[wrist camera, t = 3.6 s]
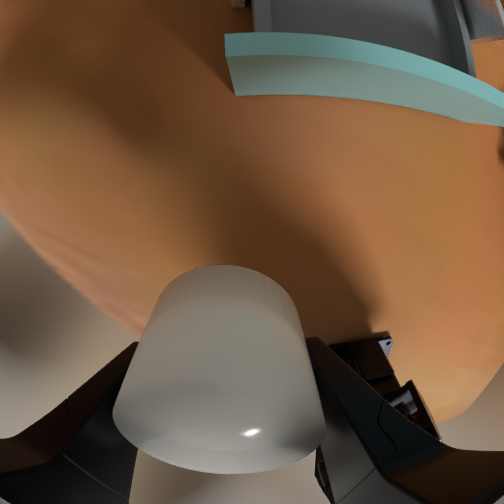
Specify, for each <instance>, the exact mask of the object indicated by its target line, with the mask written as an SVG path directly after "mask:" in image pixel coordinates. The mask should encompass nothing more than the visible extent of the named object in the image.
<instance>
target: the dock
mask: <svg viewBox="0 0 504 504" xmlns="http://www.w3.org/2000/svg"><path fill="white" fill-rule="evenodd" d="M459 1H460V4H461V7H462V11H463V14H464V18H465V21H466V25H467V29H468V33H469V37H470V42H471V45H475V44H480V43H485V42H491V41H497V40H504V10H503V7H502V4H501V2H500V0H459ZM231 6H232V8H241V7H245V0H231Z"/></svg>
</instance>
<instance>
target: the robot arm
mask: <svg viewBox="0 0 504 504" xmlns="http://www.w3.org/2000/svg"><path fill="white" fill-rule="evenodd" d="M305 342H306V346H307V350H308V354H309V358H310V362H311V365H312V369H313V373H314V377H315V381H316V386H317V390H318V394H319V398H320V402H321V406H322V410H323V415H324V419H325V423H326V435H325V438H324V439H323V441H322V443H321V444H320V445H319V446H318V447H317V448H316V461H315V477H316V478H317V481H318V483H319V485H320V487H321V489H322V491H323V492H324V494H325V495H326V496H327V498H328V499H329V501H330V503H331V504H504V451H476V450H462V449H456V448H453V447H450V446H448V445H446V444H444V443H443V441H442V439H441V436H440V434H439V431H438V429H437V427H436V424H435V422H434V419H433V417H432V415H431V413H430V411H429V409H428V407H427V405H426V403H425V401H424V399H423V397H422V396H421V394H420V392H419V391H418V389H417V388H416V386H415V384H414V383H413V381H412V380H409V381H408V382H406V384H405V385H404V386H402V387H401V386H400V384H399V382H398V380H397V378H396V376H395V374H394V370H393V368H392V366H391V364H390V362H389V360H388V358H387V357H388V355H389V352H390V349H391V346H392V344H393V340H392V338H391V337H390V336H387V337H382V338H376V339H370V340H364V341H358V342H351V343H344V344H336V345H330V346H327V345H326V344H325V343H324V342H323V341H321V340H320V339H319V338H318V337H308V338H306V339H305ZM138 344H139V342H133V343H132V344H131V345H129V346H128V347H127V348H126V349H125V350H123V351H122V352H121V353H120V354H119V355H117V356H116V357H115V358H114V359H113V360H111V361H110V362H109V363H108V364H107V365H106V366H104V367H103V368H102V369H101V370H100V371H98V372H97V373H96V374H95V375H94V376H93V377H91V378H90V379H89V380H88V381H87V382H86V383H84V384H83V385H82V386H81V387H80V388H78V389H77V390H76V391H75V392H74V393H72V394H71V395H70V396H69V397H68V399H65V400H64V401H63V402H62V403H61V404H59V405H58V406H57V407H56V408H54V409H53V410H52V411H51V412H49V413H48V414H47V415H45V416H44V417H43V418H41V419H40V420H38V421H37V422H35V423H34V424H32V425H31V426H29V427H28V428H27V429H25V430H24V431H22V432H21V433H19V434H17V435H16V436H14V437H10V438H5V439H0V504H129V497H130V491H131V484H132V479H133V473H134V467H135V462H136V456H137V451H138V448H137V447H136V446H134V445H133V444H132V443H131V442H129V441H128V440H127V439H126V438H125V437H124V436H123V435H122V434H121V432H120V431H119V430H118V428H117V427H116V425H115V423H114V420H113V408H114V405H115V402H116V399H117V397H118V394H119V391H120V389H121V386H122V383H123V381H124V378H125V376H126V373H127V370H128V368H129V365H130V363H131V360H132V358H133V356H134V353H135V351H136V348H137V346H138ZM415 409H416V410H415ZM412 411H413V412H412Z"/></svg>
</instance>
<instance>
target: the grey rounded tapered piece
mask: <svg viewBox="0 0 504 504" xmlns="http://www.w3.org/2000/svg"><path fill="white" fill-rule="evenodd" d="M113 420H114V423H115V425H116V427H117V428H118V430H119V431H120V432H121V434H122V435H123V436H124V437H125V438H126V439H127V440H128V441H129V442H131V443H132V444H133V445H134V446H136V447H137V448H139V449H140V450H142V451H144V452H145V453H147V454H149V455H151V456H153V457H155V458H157V459H159V460H162V461H164V462H167V463H170V464H172V465H175V466H179V467H183V468H187V469H191V470H196V471H202V472H209V473H218V474H245V473H255V472H262V471H267V470H272V469H276V468H280V467H283V466H286V465H289V464H291V463H294V462H296V461H298V460H300V459H302V458H304V457H306V456H307V455H309V454H310V453H311V452H313V451H314V450H315V449H316V448H317V447H318V446H319V445H320V444H321V443H322V441H323V439H324V438H325V435H326V423H325V419H324V415H323V410H322V406H321V402H320V398H319V394H318V390H317V386H316V381H315V377H314V373H313V369H312V365H311V362H310V358H309V354H308V350H307V346H306V342H305V338H304V334H303V331H302V327H301V323H300V319H299V316H298V312H297V309H296V306H295V304H294V302H293V300H292V299H291V297H290V296H289V294H288V293H287V292H286V291H285V289H283V288H282V287H281V286H280V285H279V284H278V283H277V282H275V281H274V280H272V279H271V278H269V277H268V276H266V275H264V274H262V273H260V272H257V271H254V270H252V269H248V268H244V267H240V266H232V265H212V266H205V267H200V268H196V269H193V270H191V271H188V272H186V273H184V274H182V275H180V276H178V277H177V278H176V279H174V280H173V281H172V282H170V283H169V284H168V285H167V286H166V287H165V289H164V290H163V291H162V293H161V294H160V296H159V298H158V300H157V303H156V305H155V307H154V309H153V311H152V314H151V316H150V318H149V320H148V323H147V325H146V327H145V329H144V332H143V334H142V336H141V339H140V341H139V344H138V346H137V348H136V351H135V353H134V356H133V358H132V360H131V363H130V365H129V368H128V370H127V373H126V376H125V378H124V381H123V383H122V386H121V389H120V391H119V394H118V397H117V399H116V402H115V405H114V408H113Z"/></svg>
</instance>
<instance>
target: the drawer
mask: <svg viewBox="0 0 504 504" xmlns="http://www.w3.org/2000/svg"><path fill="white" fill-rule="evenodd" d="M251 6H252V22H253V32H252V33H231V34H225V57H226V61H227V64H228V68H229V72H230V76H231V80H232V84H233V88H234V91H235V95H236V96H246V95H311V96H328V97H340V98H350V99H359V100H367V101H374V102H380V103H386V104H392V105H398V106H403V107H408V108H413V109H417V110H422V111H426V112H430V113H434V114H438V115H442V116H445V117H449V118H453V119H456V120H459V121H462V122H468V123H478V124H487V125H495V126H502V127H504V93H503V92H501V91H499V90H497V89H496V88H494V87H492V86H490V85H488V84H486V83H484V82H482V81H480V80H478V79H477V78H476V70H475V64H474V57H473V52H472V47H471V42H470V37H469V33H468V29H467V25H466V21H465V18H464V14H463V11H462V7H461V4H460V1H459V0H251Z"/></svg>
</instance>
